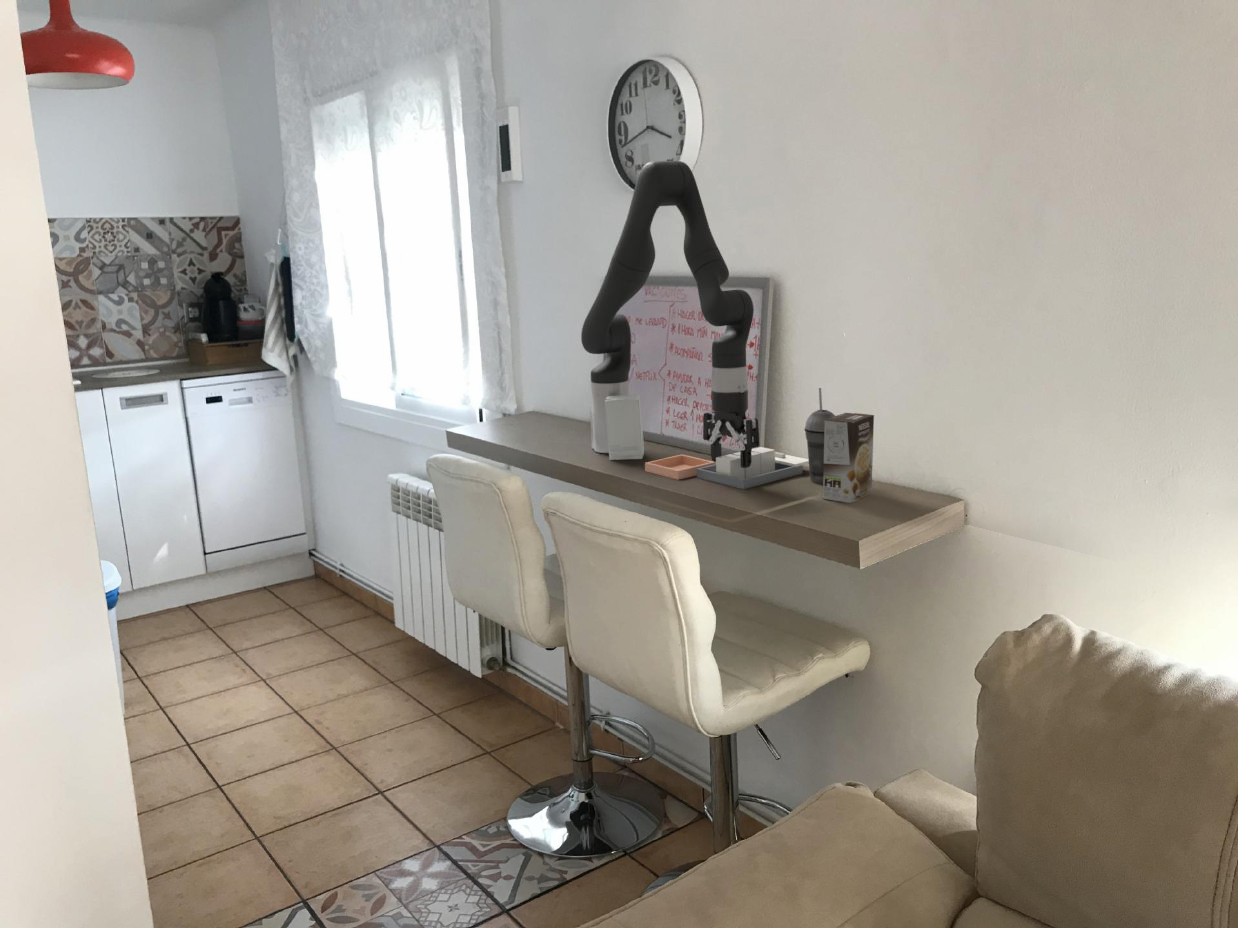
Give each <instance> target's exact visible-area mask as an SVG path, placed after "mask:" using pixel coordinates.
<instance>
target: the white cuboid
mask: <svg viewBox="0 0 1238 928" xmlns="http://www.w3.org/2000/svg"><path fill="white" fill-rule="evenodd" d="M732 455H736V456H740V451H739V452H738V451H737V452H734V453H732ZM757 475H760V453H756V452H751V465H750V467H747V468H744V479H746V478H750V477H753V476H757Z"/></svg>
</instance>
